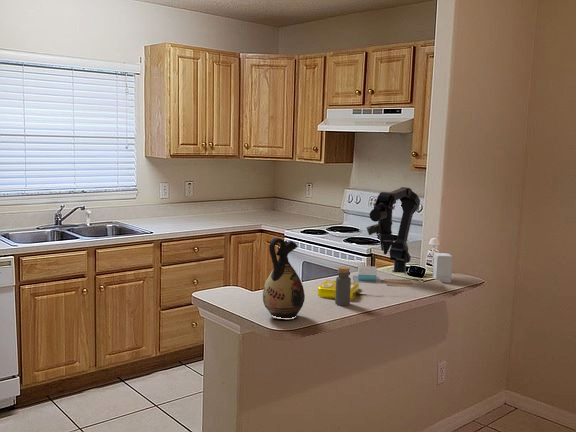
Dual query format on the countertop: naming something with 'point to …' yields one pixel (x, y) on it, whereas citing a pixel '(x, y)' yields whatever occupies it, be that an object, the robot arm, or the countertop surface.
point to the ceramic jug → (283, 283)
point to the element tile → (329, 289)
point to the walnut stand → (399, 283)
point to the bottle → (343, 286)
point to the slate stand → (355, 279)
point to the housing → (367, 273)
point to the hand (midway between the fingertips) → (383, 252)
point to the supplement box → (442, 267)
